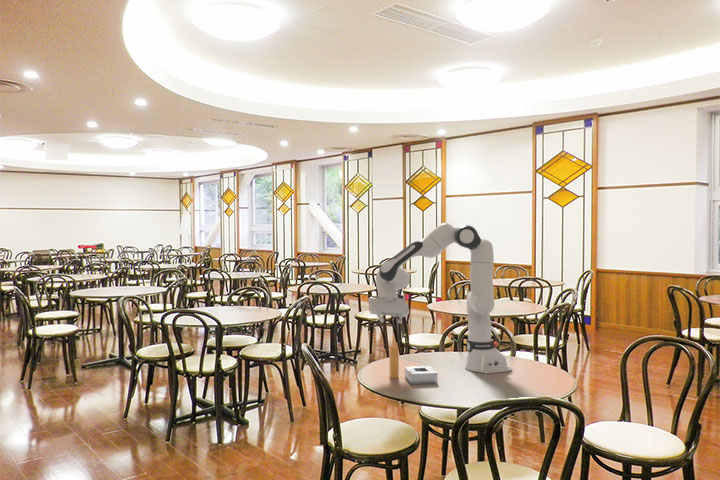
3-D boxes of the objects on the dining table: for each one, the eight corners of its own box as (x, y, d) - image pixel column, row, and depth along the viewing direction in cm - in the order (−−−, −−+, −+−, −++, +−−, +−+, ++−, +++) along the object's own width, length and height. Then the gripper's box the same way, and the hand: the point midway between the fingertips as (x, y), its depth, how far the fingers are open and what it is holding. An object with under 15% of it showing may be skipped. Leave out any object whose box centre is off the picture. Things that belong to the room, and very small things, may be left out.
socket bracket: (429, 375, 247) (429, 365, 247) (437, 383, 235) (437, 372, 235) (404, 376, 245) (404, 366, 245) (411, 384, 234) (411, 374, 233)
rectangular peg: (396, 375, 248) (396, 346, 247) (398, 377, 244) (398, 347, 244) (389, 375, 247) (389, 346, 247) (391, 378, 244) (391, 348, 243)
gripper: (369, 292, 259) (373, 316, 250) (407, 296, 265) (412, 320, 256) (365, 299, 263) (369, 323, 254) (403, 303, 270) (407, 327, 261)
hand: (391, 322), depth 255 cm, fingers open, 8 cm apart
